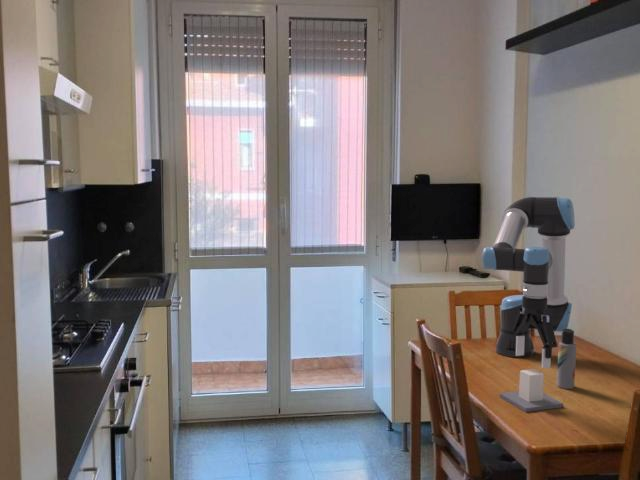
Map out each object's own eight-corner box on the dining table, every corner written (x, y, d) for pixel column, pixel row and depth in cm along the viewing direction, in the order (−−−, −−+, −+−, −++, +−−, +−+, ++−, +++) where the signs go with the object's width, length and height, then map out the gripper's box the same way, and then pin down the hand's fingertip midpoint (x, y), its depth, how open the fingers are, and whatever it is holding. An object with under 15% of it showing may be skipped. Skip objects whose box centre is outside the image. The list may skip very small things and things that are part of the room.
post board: (499, 396, 214) (500, 372, 213) (535, 392, 219) (536, 368, 218) (525, 412, 201) (526, 386, 200) (563, 407, 205) (564, 381, 204)
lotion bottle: (574, 384, 226) (576, 328, 224) (574, 390, 221) (577, 332, 219) (556, 383, 228) (559, 327, 226) (556, 388, 223) (559, 331, 221)
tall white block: (518, 396, 211) (519, 370, 210) (532, 394, 213) (533, 369, 212) (528, 401, 206) (529, 375, 206) (542, 400, 208) (543, 373, 207)
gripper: (502, 289, 217) (500, 351, 219) (550, 305, 193) (547, 374, 196) (521, 288, 219) (519, 349, 221) (571, 303, 195) (568, 372, 198)
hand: (532, 361), depth 209 cm, fingers open, 13 cm apart
